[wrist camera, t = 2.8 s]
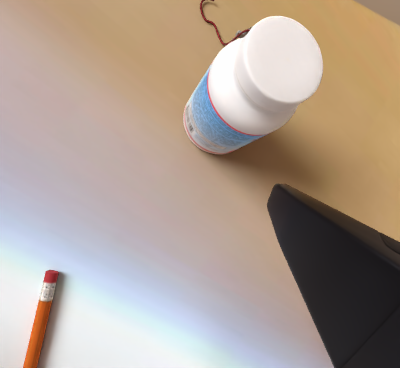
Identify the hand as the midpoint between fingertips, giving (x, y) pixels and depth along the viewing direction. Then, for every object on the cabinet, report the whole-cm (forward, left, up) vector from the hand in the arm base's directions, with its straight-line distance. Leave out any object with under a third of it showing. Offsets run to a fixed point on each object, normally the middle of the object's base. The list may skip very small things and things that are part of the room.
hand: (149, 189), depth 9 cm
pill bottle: (-2, -9, -14) cm, 17 cm away
